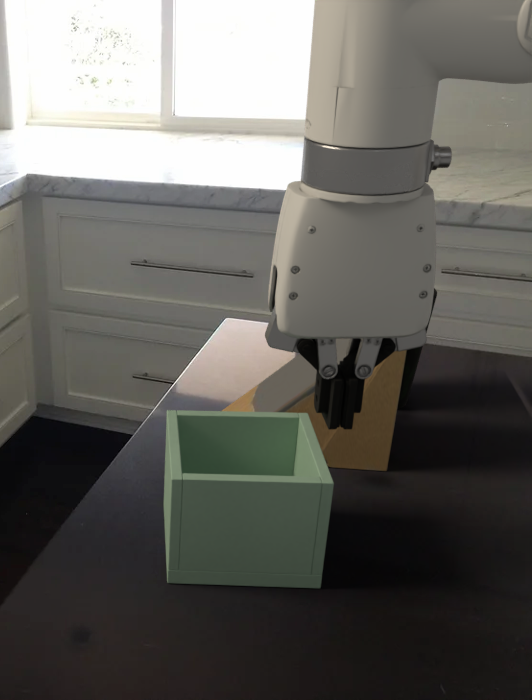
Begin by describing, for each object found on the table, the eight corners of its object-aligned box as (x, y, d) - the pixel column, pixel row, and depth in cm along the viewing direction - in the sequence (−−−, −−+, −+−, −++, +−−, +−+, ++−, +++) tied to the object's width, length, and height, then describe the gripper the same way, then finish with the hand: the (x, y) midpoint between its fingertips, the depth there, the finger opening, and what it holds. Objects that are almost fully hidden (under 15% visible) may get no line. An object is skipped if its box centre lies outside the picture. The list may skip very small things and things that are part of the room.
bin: (308, 412, 68) (166, 409, 69) (334, 483, 59) (171, 478, 60) (297, 508, 71) (163, 504, 72) (320, 588, 62) (167, 583, 63)
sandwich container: (215, 412, 87) (224, 270, 80) (376, 425, 84) (398, 279, 78) (211, 456, 79) (220, 303, 73) (387, 472, 76) (412, 314, 70)
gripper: (463, 151, 58) (425, 395, 65) (236, 156, 59) (225, 396, 66) (508, 178, 51) (460, 447, 59) (251, 183, 52) (237, 447, 60)
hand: (335, 419), depth 62 cm, fingers closed
